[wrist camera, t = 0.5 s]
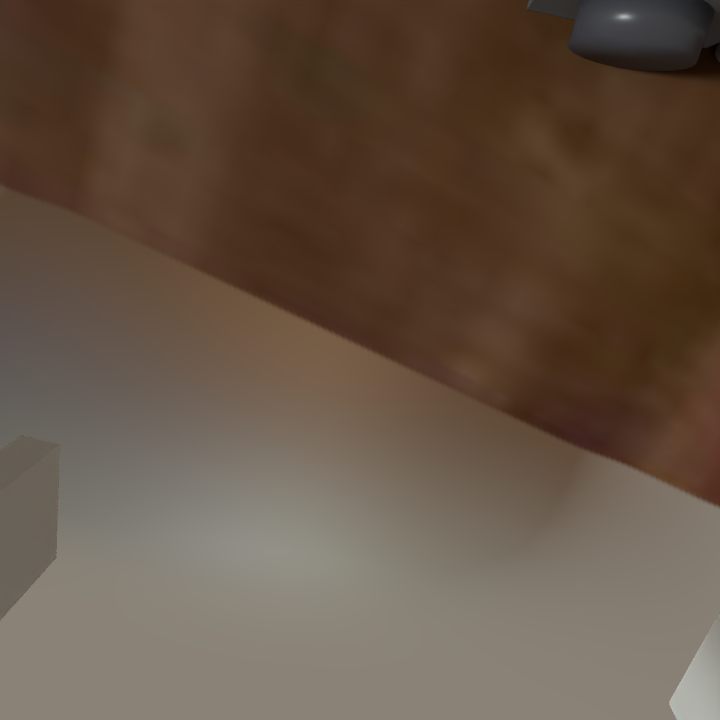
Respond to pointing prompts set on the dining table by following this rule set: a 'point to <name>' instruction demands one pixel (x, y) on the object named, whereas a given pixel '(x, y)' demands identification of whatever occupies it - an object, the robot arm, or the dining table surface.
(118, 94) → the dining table surface
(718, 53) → the door
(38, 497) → the robot arm
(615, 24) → the block
